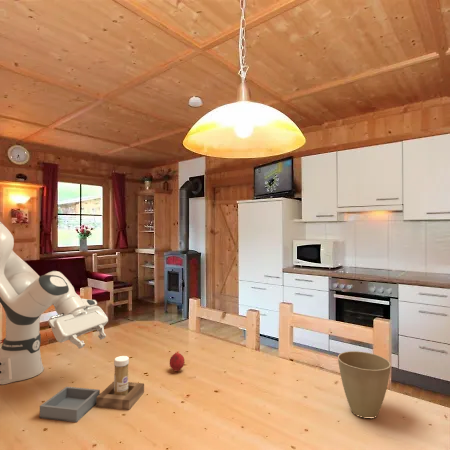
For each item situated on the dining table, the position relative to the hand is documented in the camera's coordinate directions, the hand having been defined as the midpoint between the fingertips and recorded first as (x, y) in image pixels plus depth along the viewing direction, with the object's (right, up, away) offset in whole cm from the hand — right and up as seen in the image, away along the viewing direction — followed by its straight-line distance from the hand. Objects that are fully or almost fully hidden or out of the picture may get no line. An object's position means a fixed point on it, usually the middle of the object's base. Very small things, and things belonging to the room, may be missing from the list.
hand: (93, 342), depth 110 cm
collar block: (+11, -17, -5) cm, 21 cm away
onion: (+26, -18, +16) cm, 35 cm away
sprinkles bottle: (+11, -17, -5) cm, 21 cm away
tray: (-3, -17, -10) cm, 20 cm away
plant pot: (+87, -17, -11) cm, 90 cm away
